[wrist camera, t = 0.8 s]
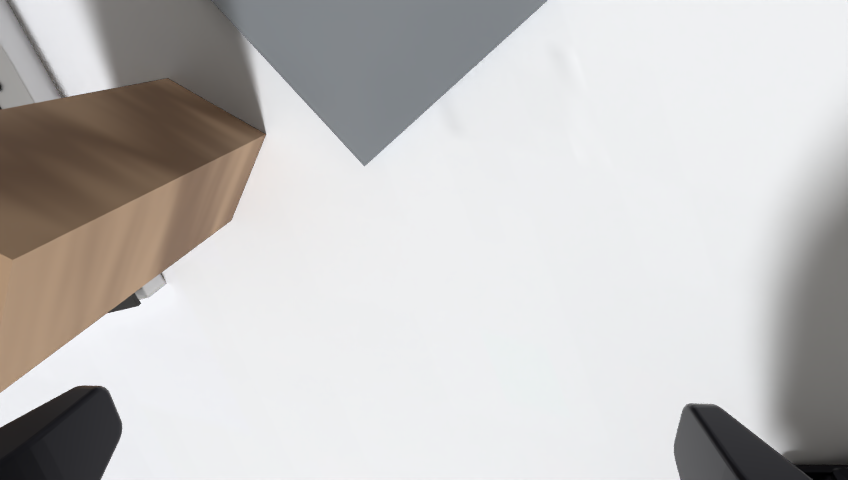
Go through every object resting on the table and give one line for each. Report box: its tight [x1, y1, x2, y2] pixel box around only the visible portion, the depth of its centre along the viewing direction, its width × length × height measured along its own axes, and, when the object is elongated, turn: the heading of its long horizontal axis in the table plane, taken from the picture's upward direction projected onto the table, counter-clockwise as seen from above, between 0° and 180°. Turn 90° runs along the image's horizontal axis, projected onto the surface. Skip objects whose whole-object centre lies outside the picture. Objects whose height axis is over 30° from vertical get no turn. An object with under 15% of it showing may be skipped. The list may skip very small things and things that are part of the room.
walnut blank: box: [0, 78, 266, 393], centre depth 17 cm, size 4×4×12 cm
